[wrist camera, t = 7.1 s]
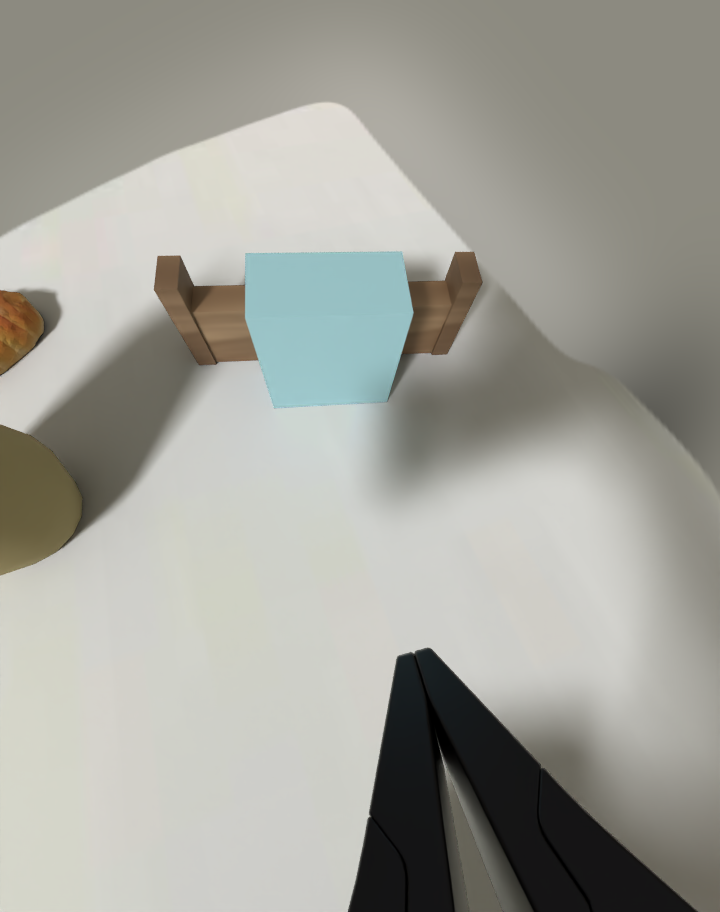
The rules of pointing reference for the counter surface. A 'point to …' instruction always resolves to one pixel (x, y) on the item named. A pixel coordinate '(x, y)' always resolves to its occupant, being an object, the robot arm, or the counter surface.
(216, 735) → the counter surface
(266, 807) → the counter surface
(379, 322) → the pale blue brick
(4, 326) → the pastry
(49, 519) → the squeeze bottle
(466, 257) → the rail
